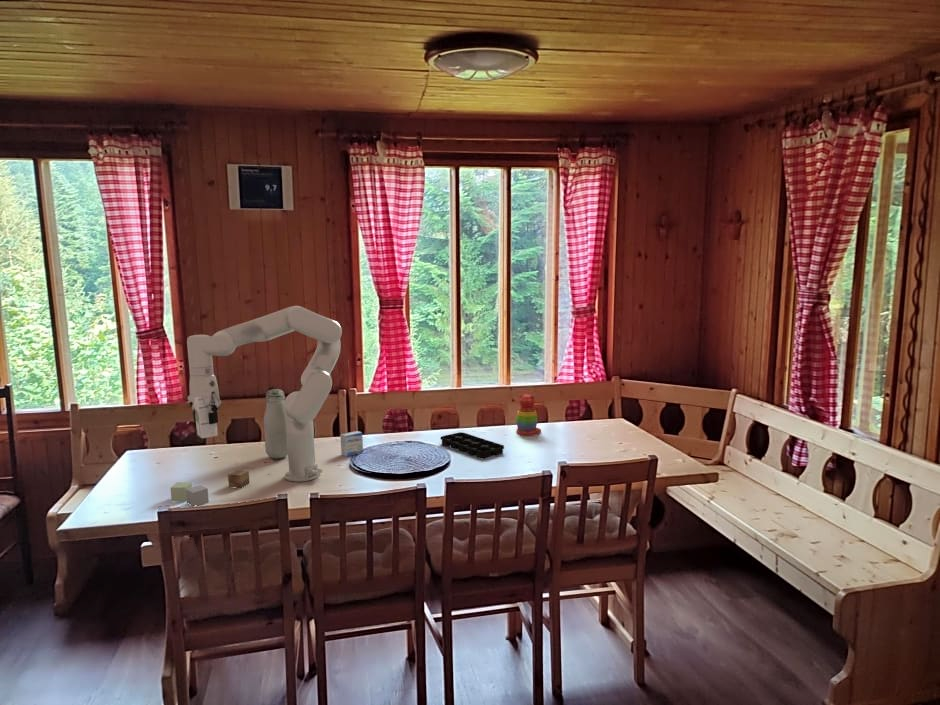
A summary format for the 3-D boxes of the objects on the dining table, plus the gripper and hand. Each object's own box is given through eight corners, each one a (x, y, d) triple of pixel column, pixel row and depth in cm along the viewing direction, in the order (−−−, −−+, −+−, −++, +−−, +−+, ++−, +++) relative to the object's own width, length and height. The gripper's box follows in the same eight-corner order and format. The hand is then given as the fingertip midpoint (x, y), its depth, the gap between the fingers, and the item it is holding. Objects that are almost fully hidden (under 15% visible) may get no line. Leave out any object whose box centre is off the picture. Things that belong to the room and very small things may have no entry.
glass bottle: (267, 463, 262) (263, 393, 258) (264, 455, 271) (259, 388, 267) (293, 459, 266) (289, 390, 262) (289, 452, 275) (285, 385, 271)
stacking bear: (542, 431, 300) (542, 392, 297) (535, 437, 291) (535, 397, 288) (519, 429, 305) (519, 391, 302) (511, 435, 295) (511, 395, 293)
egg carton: (457, 438, 292) (457, 430, 292) (513, 450, 274) (513, 442, 273) (430, 448, 279) (430, 439, 278) (487, 461, 260) (487, 452, 260)
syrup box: (218, 435, 229) (214, 394, 227) (200, 439, 226) (196, 397, 224) (213, 432, 234) (210, 391, 231) (196, 435, 230) (192, 394, 228)
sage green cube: (192, 496, 228) (191, 482, 227) (186, 501, 223) (185, 487, 222) (178, 496, 228) (177, 482, 227) (171, 501, 223) (170, 487, 222)
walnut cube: (249, 484, 239) (248, 470, 238) (241, 489, 234) (240, 475, 233) (237, 483, 240) (236, 469, 239) (228, 487, 235) (227, 474, 235)
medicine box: (346, 457, 268) (345, 436, 267) (340, 454, 271) (339, 434, 270) (363, 452, 273) (362, 432, 272) (357, 450, 276) (356, 430, 275)
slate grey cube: (208, 502, 222) (207, 488, 221) (194, 507, 218) (193, 492, 217) (201, 499, 225) (200, 485, 224) (186, 503, 221) (185, 489, 220)
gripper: (228, 371, 225) (232, 422, 228) (194, 367, 234) (198, 416, 237) (209, 375, 219) (213, 427, 221) (175, 371, 227) (180, 421, 230)
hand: (206, 421), depth 229 cm, fingers closed on syrup box, 7 cm apart
